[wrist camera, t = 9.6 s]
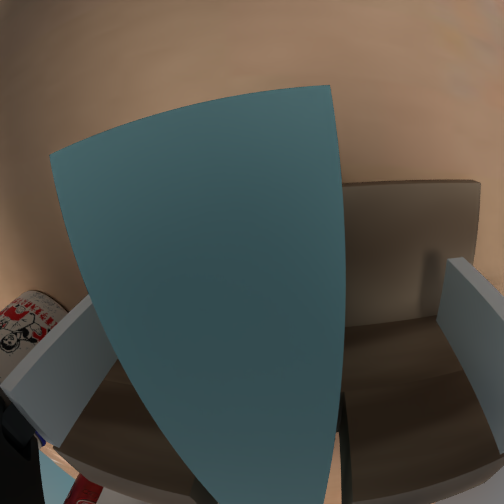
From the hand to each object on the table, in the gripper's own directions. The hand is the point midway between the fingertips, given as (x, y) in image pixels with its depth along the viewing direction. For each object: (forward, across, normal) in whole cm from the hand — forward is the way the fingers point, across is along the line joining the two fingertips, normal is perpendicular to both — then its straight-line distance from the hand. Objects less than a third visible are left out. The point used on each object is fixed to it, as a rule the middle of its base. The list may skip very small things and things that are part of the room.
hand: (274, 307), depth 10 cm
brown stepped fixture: (+4, 0, -5) cm, 6 cm away
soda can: (+4, -43, -49) cm, 65 cm away
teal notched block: (+3, 0, -2) cm, 3 cm away
